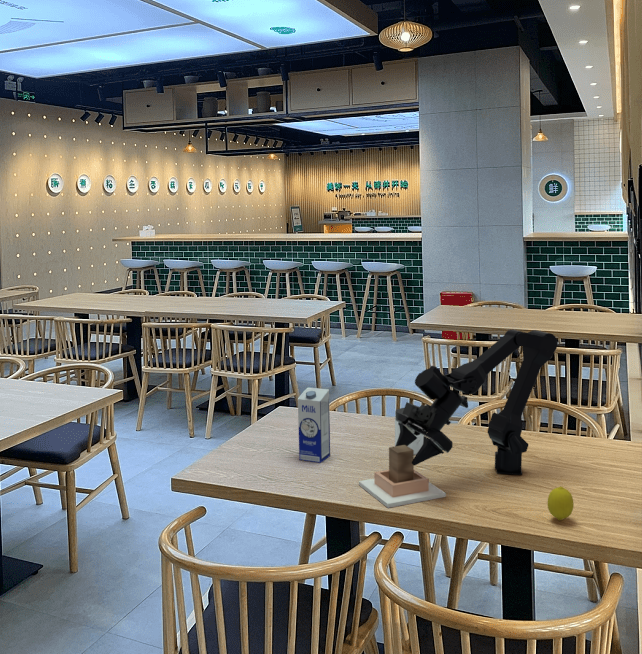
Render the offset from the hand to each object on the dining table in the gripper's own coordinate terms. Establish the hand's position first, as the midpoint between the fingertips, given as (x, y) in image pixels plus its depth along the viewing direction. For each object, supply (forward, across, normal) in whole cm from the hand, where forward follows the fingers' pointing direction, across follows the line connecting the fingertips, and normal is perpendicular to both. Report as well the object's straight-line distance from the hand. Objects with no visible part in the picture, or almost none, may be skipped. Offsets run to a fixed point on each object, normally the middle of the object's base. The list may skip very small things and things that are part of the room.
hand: (403, 458), depth 177 cm
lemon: (-10, +30, +22) cm, 39 cm away
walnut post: (+6, 0, +5) cm, 7 cm away
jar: (-5, -26, +18) cm, 32 cm away
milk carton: (+14, -32, -2) cm, 35 cm away
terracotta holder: (+6, 0, +5) cm, 8 cm away
